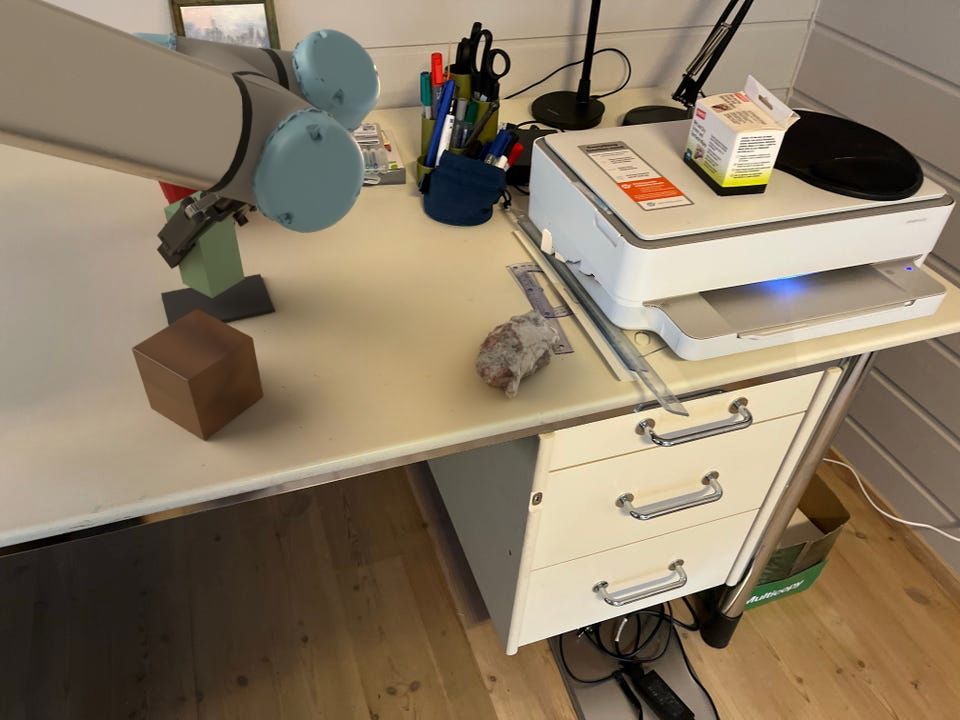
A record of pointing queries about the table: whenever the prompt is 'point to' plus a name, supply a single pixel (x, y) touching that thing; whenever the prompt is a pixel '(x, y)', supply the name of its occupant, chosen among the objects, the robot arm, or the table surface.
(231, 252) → the top block
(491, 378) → the mineral rock
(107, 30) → the robot arm
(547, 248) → the modular blocks
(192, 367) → the base block
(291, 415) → the table surface
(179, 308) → the mat
